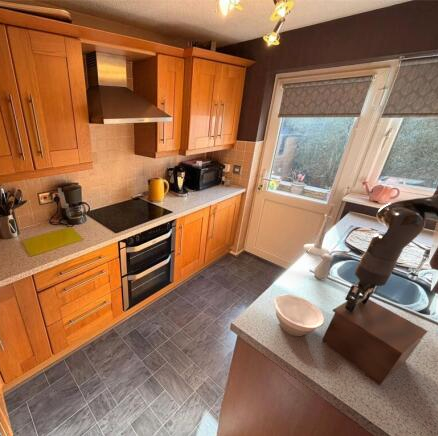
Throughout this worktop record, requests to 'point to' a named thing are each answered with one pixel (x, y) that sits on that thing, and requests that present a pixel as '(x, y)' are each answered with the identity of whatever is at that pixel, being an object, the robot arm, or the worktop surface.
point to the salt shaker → (323, 267)
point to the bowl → (297, 315)
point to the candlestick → (321, 237)
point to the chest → (364, 350)
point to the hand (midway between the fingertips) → (355, 305)
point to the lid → (382, 325)
